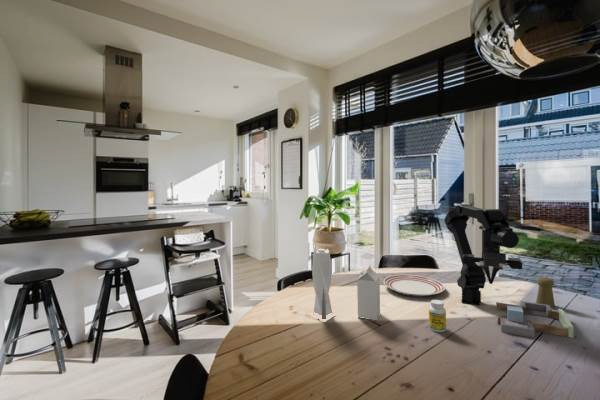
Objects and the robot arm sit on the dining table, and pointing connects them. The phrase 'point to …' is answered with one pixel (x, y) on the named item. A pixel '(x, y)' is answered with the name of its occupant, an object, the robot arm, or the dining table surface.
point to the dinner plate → (414, 285)
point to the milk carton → (368, 294)
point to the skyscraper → (322, 281)
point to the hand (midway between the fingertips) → (490, 283)
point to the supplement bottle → (437, 316)
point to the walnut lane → (538, 326)
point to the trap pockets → (528, 332)
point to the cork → (545, 292)
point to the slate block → (515, 313)
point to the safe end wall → (566, 322)
